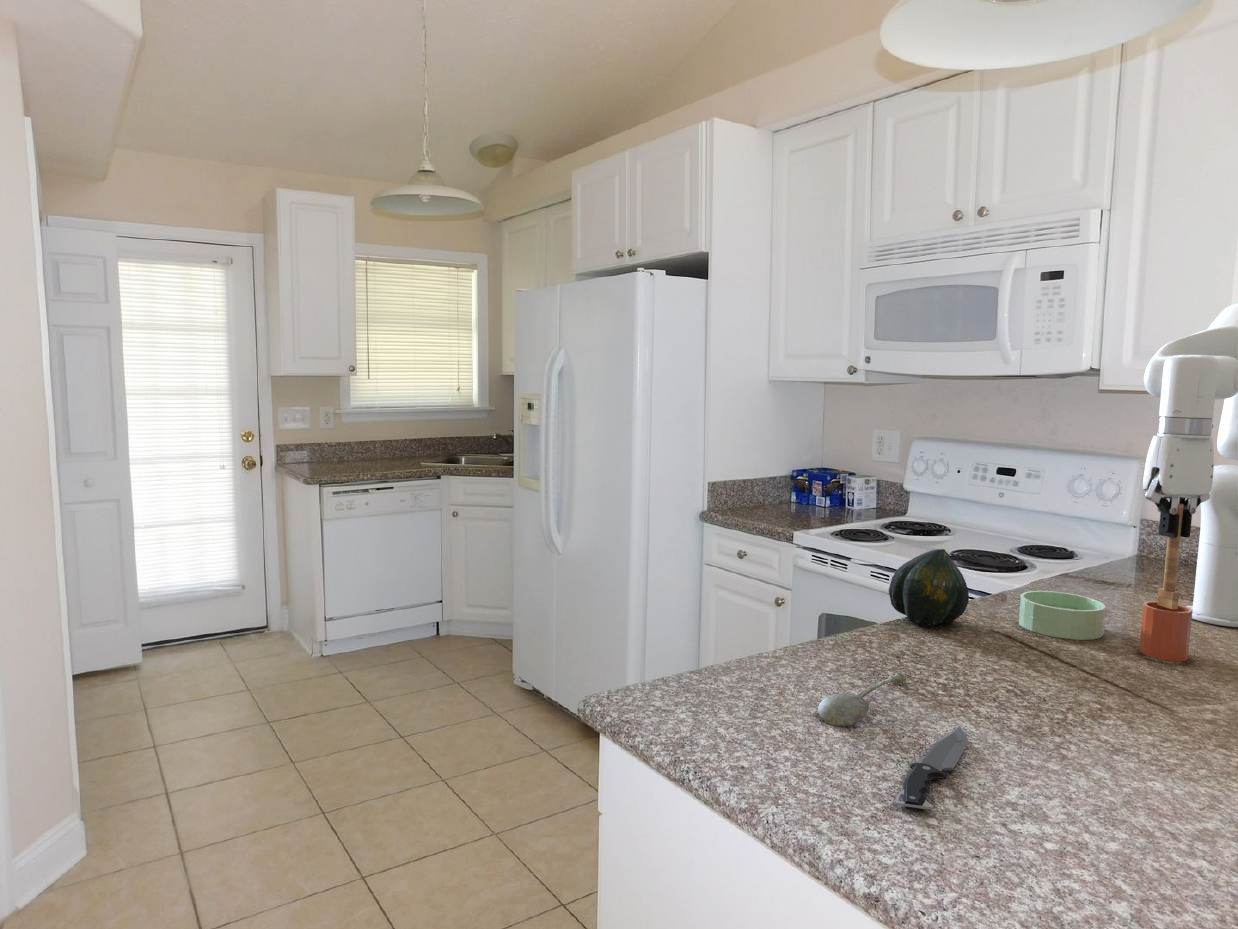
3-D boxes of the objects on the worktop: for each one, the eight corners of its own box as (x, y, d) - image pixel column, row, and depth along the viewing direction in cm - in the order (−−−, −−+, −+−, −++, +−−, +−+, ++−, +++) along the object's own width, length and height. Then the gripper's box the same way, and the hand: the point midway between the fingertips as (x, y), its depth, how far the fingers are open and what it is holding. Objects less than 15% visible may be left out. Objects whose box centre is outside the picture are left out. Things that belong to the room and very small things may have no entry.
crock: (1162, 649, 145) (1166, 600, 144) (1197, 663, 138) (1202, 611, 137) (1129, 651, 143) (1133, 602, 142) (1163, 665, 137) (1168, 613, 136)
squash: (872, 596, 156) (931, 543, 151) (878, 582, 170) (932, 533, 165) (927, 652, 152) (990, 600, 148) (929, 633, 166) (986, 585, 162)
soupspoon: (807, 721, 112) (851, 738, 108) (809, 698, 111) (853, 715, 107) (881, 676, 128) (921, 689, 123) (883, 656, 127) (923, 668, 123)
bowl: (1063, 618, 163) (1066, 589, 163) (1121, 641, 149) (1124, 609, 149) (1002, 621, 160) (1004, 592, 159) (1055, 644, 146) (1057, 612, 146)
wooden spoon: (1155, 604, 141) (1165, 502, 139) (1164, 604, 141) (1173, 502, 139) (1170, 609, 138) (1180, 505, 136) (1179, 609, 138) (1189, 505, 137)
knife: (986, 736, 106) (946, 726, 109) (987, 729, 106) (947, 719, 109) (927, 819, 86) (880, 803, 89) (928, 810, 86) (881, 795, 89)
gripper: (1202, 428, 142) (1192, 531, 144) (1126, 426, 139) (1117, 532, 140) (1243, 430, 135) (1232, 539, 136) (1164, 429, 131) (1154, 541, 133)
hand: (1174, 535), depth 138 cm, fingers closed on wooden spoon, 1 cm apart
